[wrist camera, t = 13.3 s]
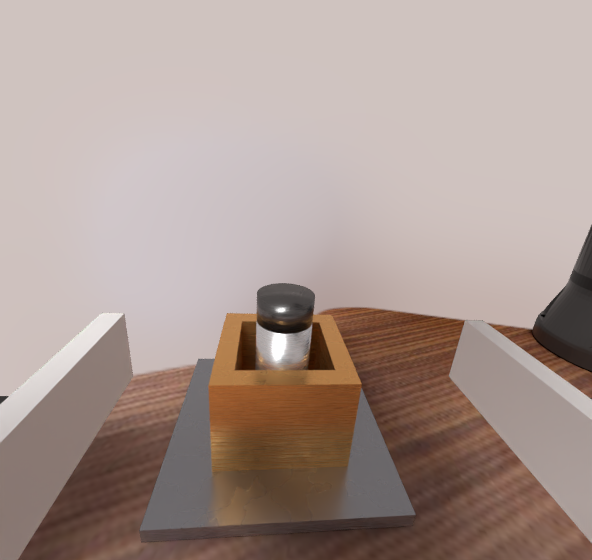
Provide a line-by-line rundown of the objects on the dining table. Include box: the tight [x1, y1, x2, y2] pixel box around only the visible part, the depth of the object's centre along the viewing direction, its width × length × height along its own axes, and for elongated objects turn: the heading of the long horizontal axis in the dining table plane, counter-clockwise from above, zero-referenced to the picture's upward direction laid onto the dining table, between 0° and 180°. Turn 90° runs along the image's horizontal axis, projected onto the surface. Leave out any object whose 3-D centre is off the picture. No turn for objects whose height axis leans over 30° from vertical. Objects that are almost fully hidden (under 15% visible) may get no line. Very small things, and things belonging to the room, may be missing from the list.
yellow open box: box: [139, 313, 416, 542], centre depth 24 cm, size 16×16×8 cm
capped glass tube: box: [255, 283, 315, 370], centre depth 23 cm, size 4×4×12 cm
